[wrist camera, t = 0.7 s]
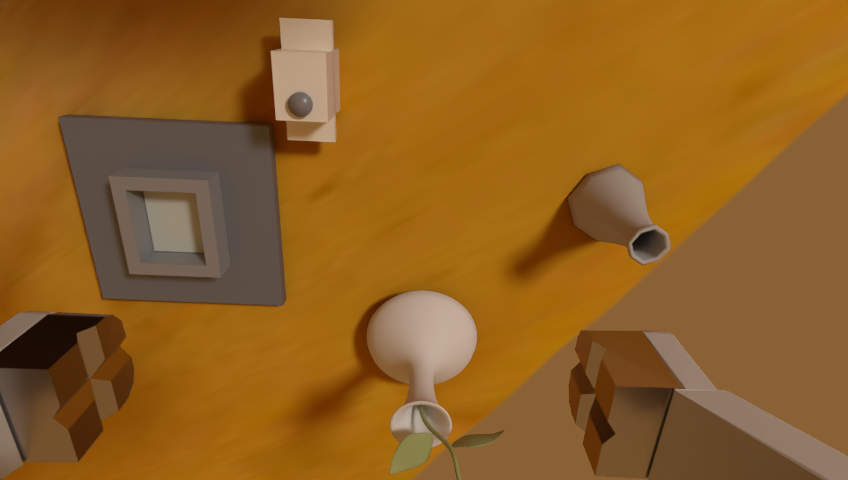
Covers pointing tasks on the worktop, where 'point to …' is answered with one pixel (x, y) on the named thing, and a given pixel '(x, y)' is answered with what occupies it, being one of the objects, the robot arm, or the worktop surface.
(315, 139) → the block
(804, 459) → the robot arm
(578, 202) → the flask
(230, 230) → the plate
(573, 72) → the worktop surface
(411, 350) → the flower in vase
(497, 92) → the worktop surface
